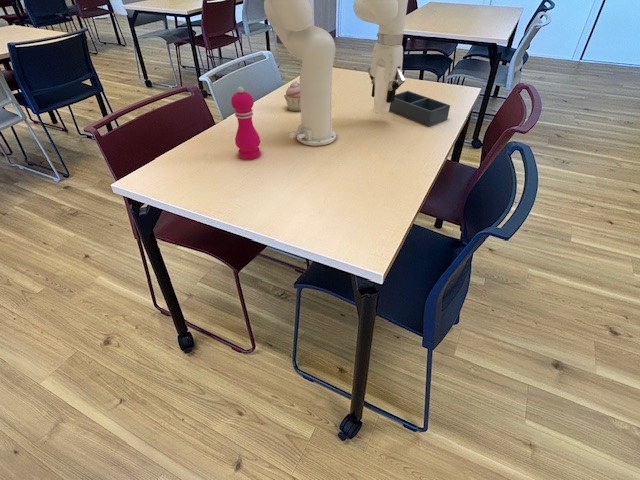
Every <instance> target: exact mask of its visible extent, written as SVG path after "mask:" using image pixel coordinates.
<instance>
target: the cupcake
mask: <svg viewBox="0 0 640 480" xmlns="http://www.w3.org/2000/svg"><path fill="white" fill-rule="evenodd" d="M285 92H286V93H285V94H284V95H283V97H284V100H285V102H286V105H287V108H288V110H289V111H292V112H301V104H300V82H298V80H295V81H293V82H291V83H290V85H289V86H288V87H287V88H286V91H285Z"/></svg>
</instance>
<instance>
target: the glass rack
mask: <svg viewBox="0 0 640 480" xmlns="http://www.w3.org/2000/svg"><path fill="white" fill-rule="evenodd" d="M450 108H451V104H448V103H445V102H442V101H439V100H437V99H433V98H431V97H428V96H427V97H426V96H425V95H422V94H419V93H416V92H414V91H410V90H405V91H401V92H399V93H395V100H394V102H391V103H390V109H389V112H391V113H393V114H395V115H397V116H401V117H403V118H405V119H409V120H410V121H413V122H415V123H418V124H421V125H423V126H426V127H431V126H435V125H437V124H439V123H442V122H445V121H447V120H448V119H449V118H448V117H449V113H450Z"/></svg>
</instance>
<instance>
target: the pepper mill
mask: <svg viewBox="0 0 640 480" xmlns="http://www.w3.org/2000/svg"><path fill="white" fill-rule="evenodd" d="M254 103H255V102H254V98H253V96H252V94H250V93H249V92H247V91H245V88H244V87H243V86H238V87H237V92H235V93H234V94H233V95H232V97H231V100H230V104H231V106H232V108H233V109H234V116H235V118H236V120H237V131H236V134H235V138H234V141H235V142H234V143H235V146H236V147H237V149H238V157H239V158H240V159H242V160H246V161H247V160H248V161H249V160H255V159H258V158H259V157H260V155H261V149H260V147H259V146H260V145H261V138H260V137H261V136H260V135H259V133H258V131H257V129H256V127H255V126H254V124H253V116H254V110H253V109H252V108H253V107H254Z"/></svg>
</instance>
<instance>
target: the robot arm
mask: <svg viewBox="0 0 640 480" xmlns="http://www.w3.org/2000/svg"><path fill="white" fill-rule="evenodd" d="M408 2H409V0H354V2H353V12H354V15H355V16H356V17H357V18H358V19H359V20H361V21H363V22H367V23H370V24H374V25H378V30H377V31H378V32H377V33H376V37H377V41H376V42H375V43H374V47H373V50H372V55H371V59H370V66H369V67H368V69H367V73H368V75H369V78H370V80H371V81H370V84H371V85H372V90H371V97H372V98H374V92H375V74H376V67H377V65H378V66H380V67H384V68H385V71H384V80H385V81H387V82H389V89H390V90H388V93H387V101H386V102H387V103H390V102H394V100H395V95H396V94H397V93H396V91H397V90H398V89H399V88H400V87H402V85H403V84H404V83H405V82H406V79H405V76H404V75H403V72H402V71H403V64H404V63H403V61H404V47H403V38H404V32H405V25H406V19H407V17H406V16H407V11H408ZM263 10H264V14H265V17H266V19H267V21H268V23H269V24H270V26H271V27H272V29H273V30H274V32H275V34H276V35H277V37H278V39H279V40H280V42H281V43H282V44H283V46H284V48H285V49H286V51H287V52H288V53H289V54H290V55H291V56H292V57H294V58H296V59H298V60H299V61H301V68H300V73H299V84H300V104H301V111H300V124H299V125H298V126H297V127H298V128H297V129H296V130H293V131H290V132H288V138H289V139H294V138H296V139H297V140H298V142H299V143H301V144H303V145H306V146H313V147H314V146H315V147H317V146H318V147H319V146H320V147H321V146H325V145H329V144H332V143H333V142H334V141H336V138H337V133H336V132H335V130H334V129H332V111H333V110H332V107H333V106H332V102H333V101H332V100H333V99H332V98H333V97H332V96H333V95H332V94H333V69H334V62H335V57H336V43H335V40H334V38H333V36H332V35H331V33H330V32H328V31H327V30H325V29H324V28H322V27H320V26H316V25H313V24H312V20H313V17H314V16H313V15H314V13H313V7H312V5H311V2H310V0H264V1H263ZM394 78H395V79H394ZM393 81H394V85H393V83H392V82H393Z"/></svg>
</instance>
